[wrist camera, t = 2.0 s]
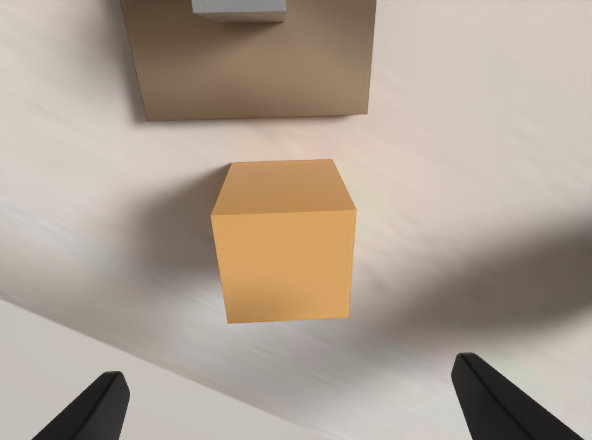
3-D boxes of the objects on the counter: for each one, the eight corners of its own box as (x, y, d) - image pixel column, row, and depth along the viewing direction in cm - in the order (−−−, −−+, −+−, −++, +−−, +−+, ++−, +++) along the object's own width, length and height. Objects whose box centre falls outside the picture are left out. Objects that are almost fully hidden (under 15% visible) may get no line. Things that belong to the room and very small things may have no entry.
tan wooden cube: (329, 243, 19) (348, 317, 14) (241, 247, 19) (227, 323, 14) (332, 159, 17) (356, 209, 12) (231, 162, 17) (210, 215, 12)
